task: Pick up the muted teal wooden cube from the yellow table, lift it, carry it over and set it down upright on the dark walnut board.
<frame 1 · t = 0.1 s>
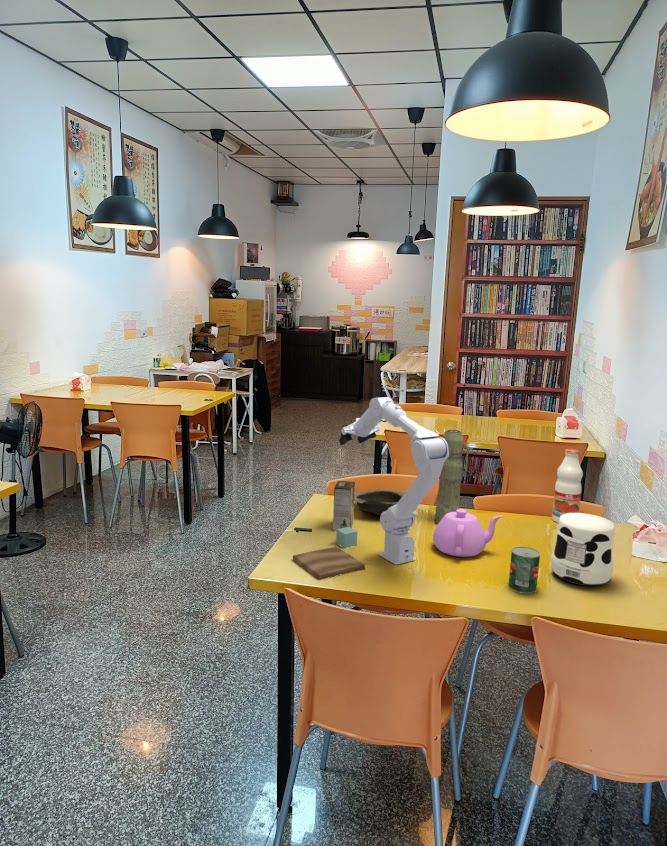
hand: (350, 441, 213), 32 cm above the table, tool tilted 50°, fingers open, 7 cm apart
coffee box: (343, 527, 221), on the table
walnut board: (328, 564, 189), on the table
milk container: (579, 578, 186), on the table
fruit juice: (564, 521, 237), on the table
stone bowl: (379, 513, 239), on the table
teapot: (465, 551, 204), on the table
canned tomato: (522, 588, 178), on the table
thermos: (446, 523, 230), on the table
teal cube: (346, 544, 205), on the table
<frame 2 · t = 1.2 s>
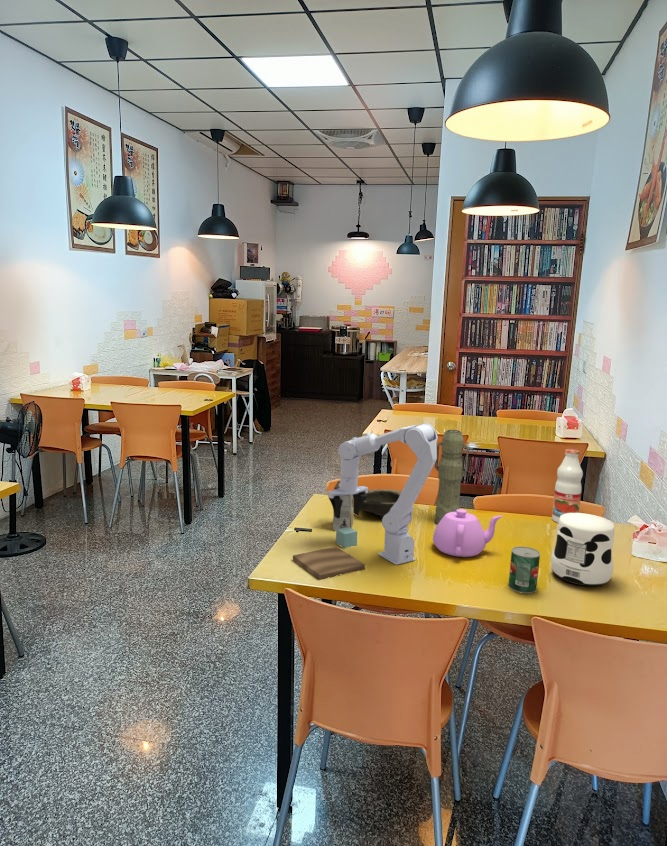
hand: (346, 515, 204), 10 cm above the table, tool pointing down, fingers open, 7 cm apart
nothing on the table moved.
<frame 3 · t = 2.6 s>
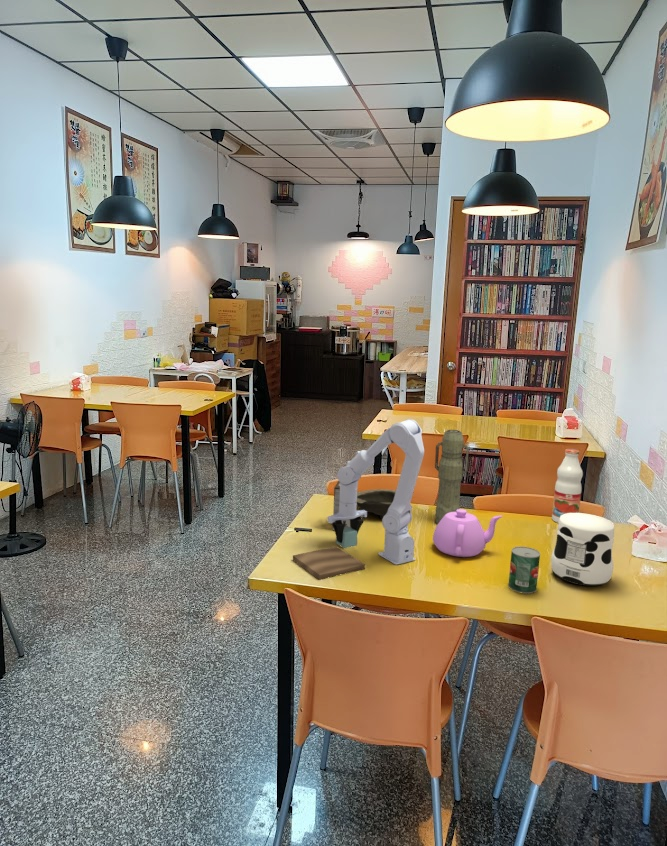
hand: (346, 540, 205), 1 cm above the table, tool pointing down, fingers closed on teal cube, 5 cm apart
teal cube: (346, 544, 205), on the table, touching gripper
everything else where it was.
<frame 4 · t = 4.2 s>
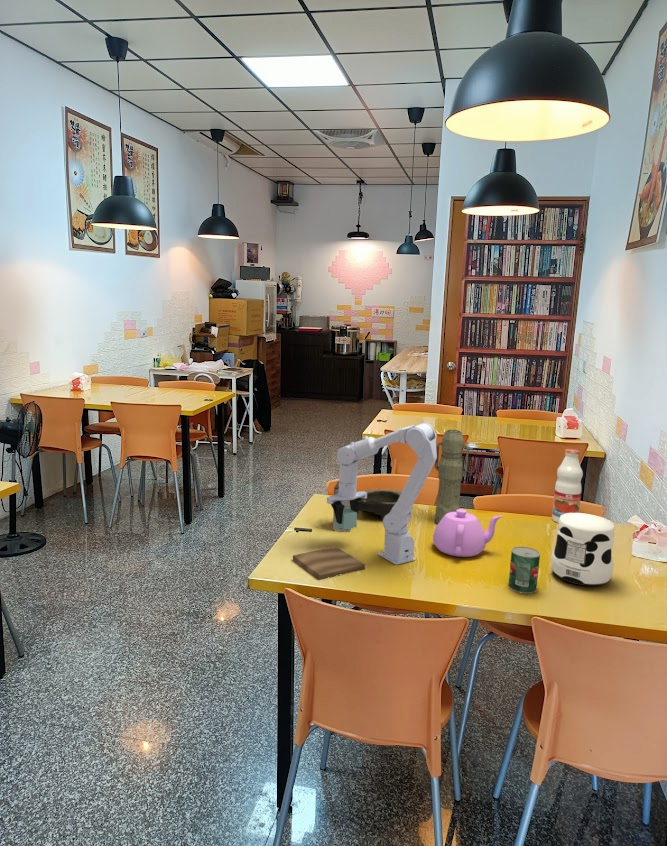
hand: (346, 521, 203), 8 cm above the table, tool pointing down, fingers closed on teal cube, 5 cm apart
teal cube: (345, 526, 203), point 7 cm above the table, touching gripper
everything else where it was.
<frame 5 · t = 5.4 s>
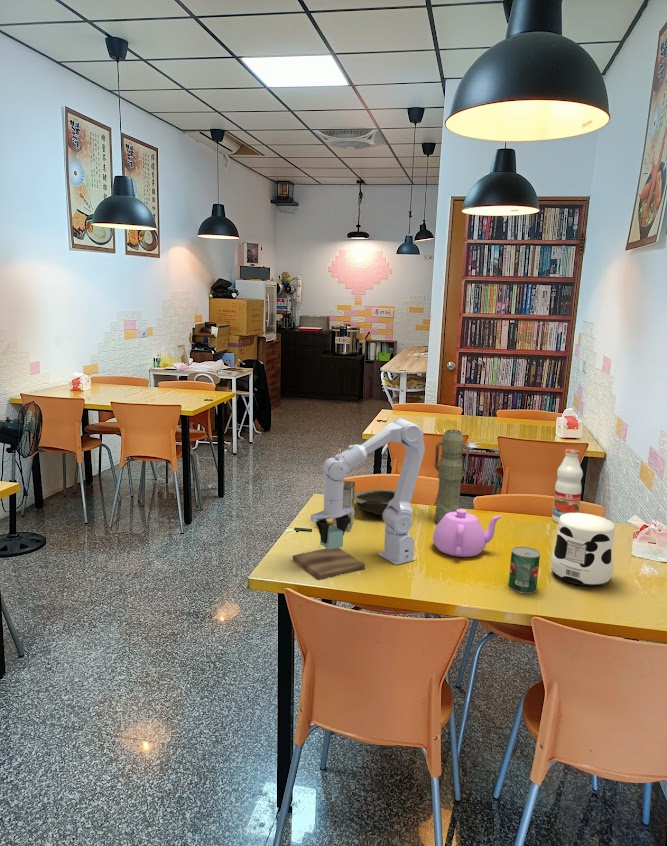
hand: (331, 540, 188), 7 cm above the table, tool pointing down, fingers closed on teal cube, 5 cm apart
teal cube: (331, 545, 189), point 6 cm above the table, touching gripper
everything else where it was.
when the fingers open (4 cm above the table, at t = 6.5 s): teal cube stays where it is, resting on walnut board.
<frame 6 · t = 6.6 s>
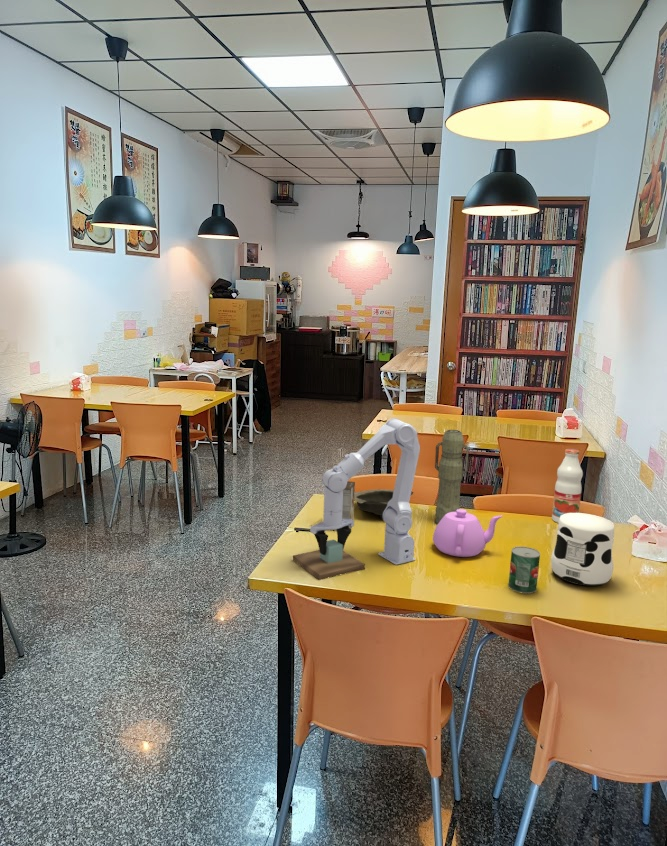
hand: (331, 551, 189), 4 cm above the table, tool pointing down, fingers open, 6 cm apart
teal cube: (330, 559, 189), point 1 cm above the table, touching walnut board
everything else where it was.
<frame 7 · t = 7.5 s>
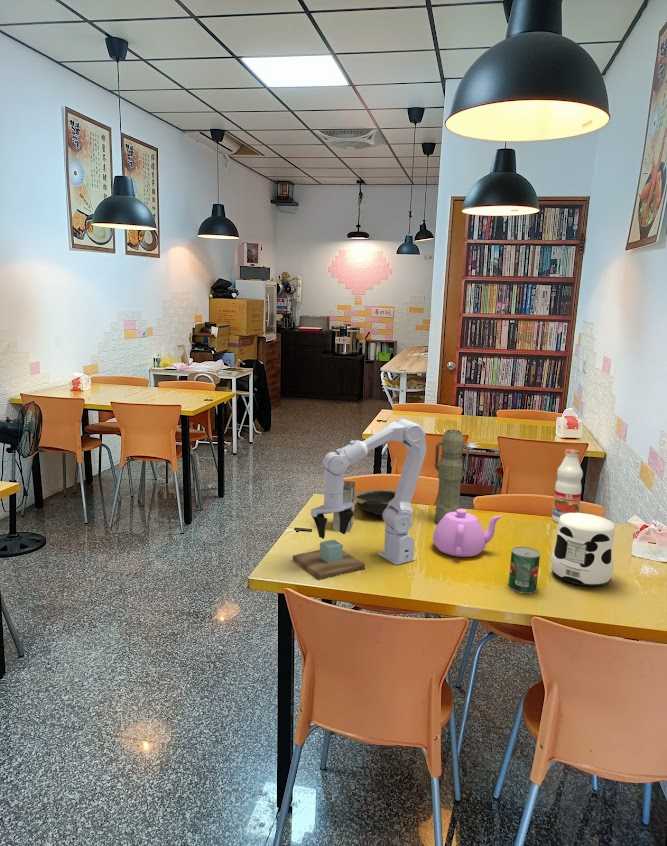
hand: (332, 535, 188), 9 cm above the table, tool pointing down, fingers open, 7 cm apart
nothing on the table moved.
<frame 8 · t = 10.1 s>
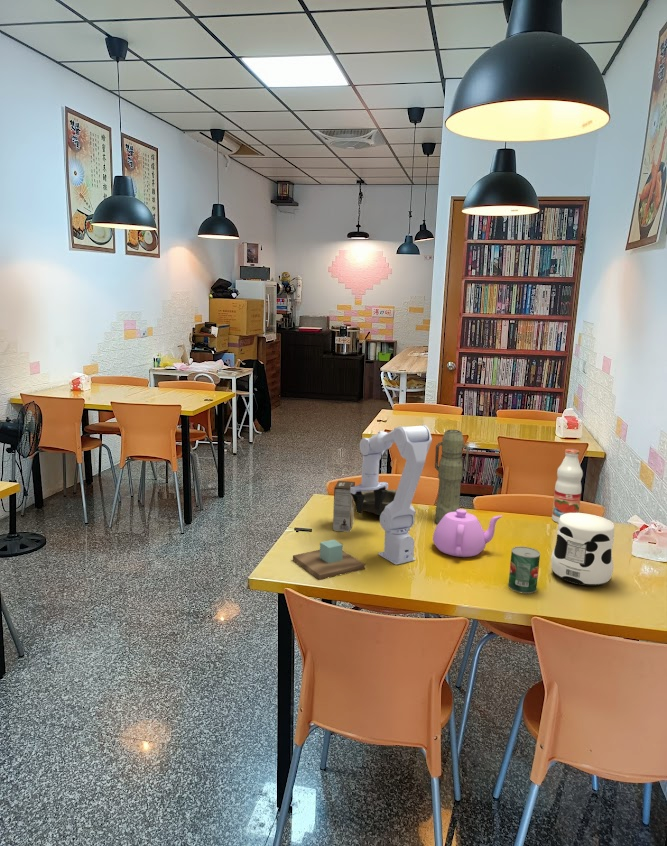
hand: (368, 511, 211), 9 cm above the table, tool pointing down, fingers open, 7 cm apart
nothing on the table moved.
at the end: teal cube inside the target area on the walnut board (1.0 cm from its centre), point 1.5 cm above the walnut board's base; teal cube tilted 0°; the gripper is holding nothing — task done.
